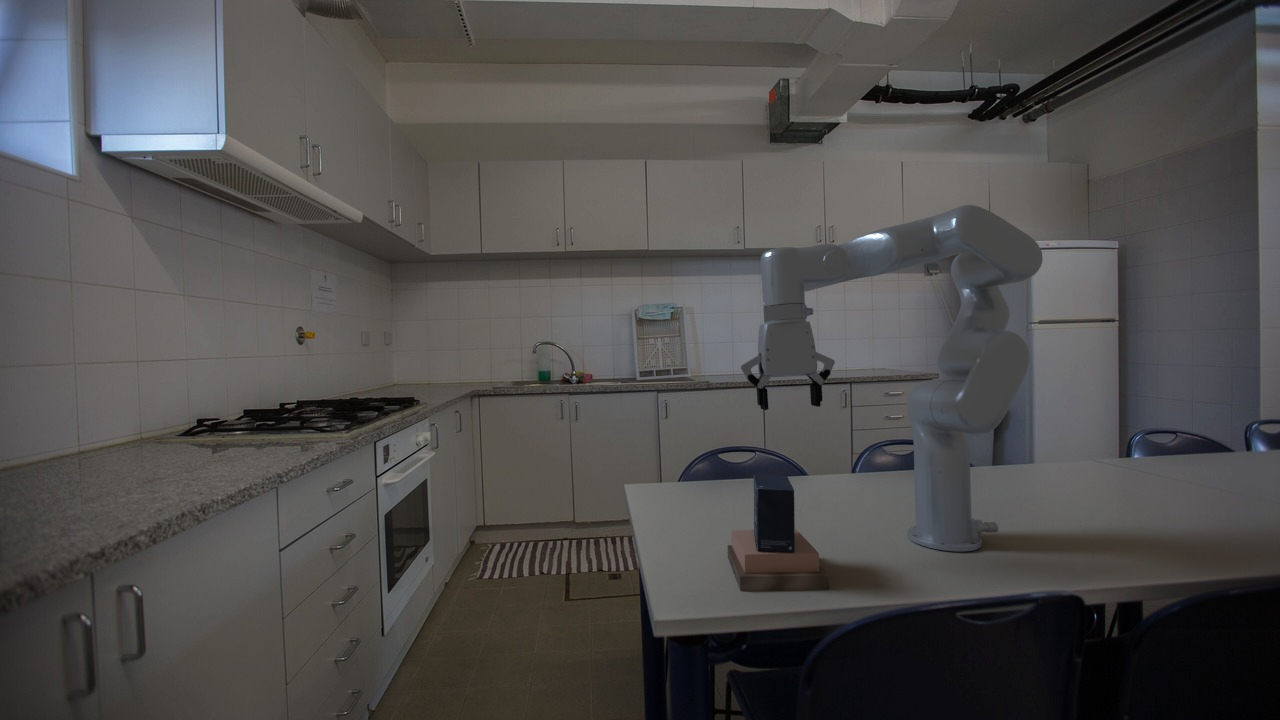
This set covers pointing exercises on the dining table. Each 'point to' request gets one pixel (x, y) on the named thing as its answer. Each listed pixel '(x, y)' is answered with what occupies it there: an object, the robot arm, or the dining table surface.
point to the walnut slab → (777, 578)
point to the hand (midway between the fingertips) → (790, 407)
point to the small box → (774, 513)
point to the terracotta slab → (774, 555)
